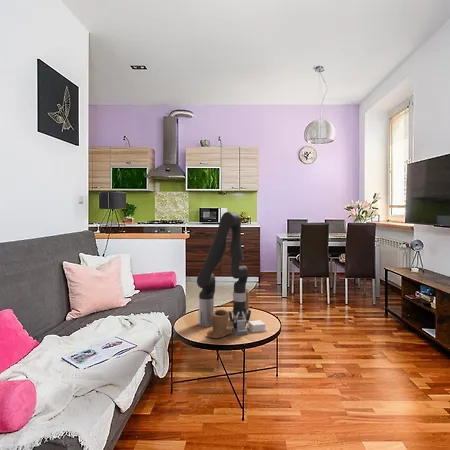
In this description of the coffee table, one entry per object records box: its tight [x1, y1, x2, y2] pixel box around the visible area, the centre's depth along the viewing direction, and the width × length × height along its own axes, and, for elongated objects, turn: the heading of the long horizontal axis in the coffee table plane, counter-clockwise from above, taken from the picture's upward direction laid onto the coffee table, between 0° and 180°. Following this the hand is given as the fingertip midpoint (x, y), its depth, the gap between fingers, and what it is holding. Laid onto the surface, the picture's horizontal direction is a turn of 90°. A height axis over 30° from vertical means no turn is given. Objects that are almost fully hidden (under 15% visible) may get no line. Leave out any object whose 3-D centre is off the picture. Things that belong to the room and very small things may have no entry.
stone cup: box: [206, 309, 233, 339], centre depth 202 cm, size 15×12×15 cm
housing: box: [235, 317, 247, 332], centre depth 207 cm, size 5×8×7 cm, turn 15°
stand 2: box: [246, 319, 267, 333], centre depth 214 cm, size 9×9×4 cm
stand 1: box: [230, 326, 249, 336], centre depth 208 cm, size 8×8×2 cm
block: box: [232, 288, 250, 323], centre depth 231 cm, size 10×10×20 cm
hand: (239, 327), depth 208 cm, fingers closed on housing, 5 cm apart
